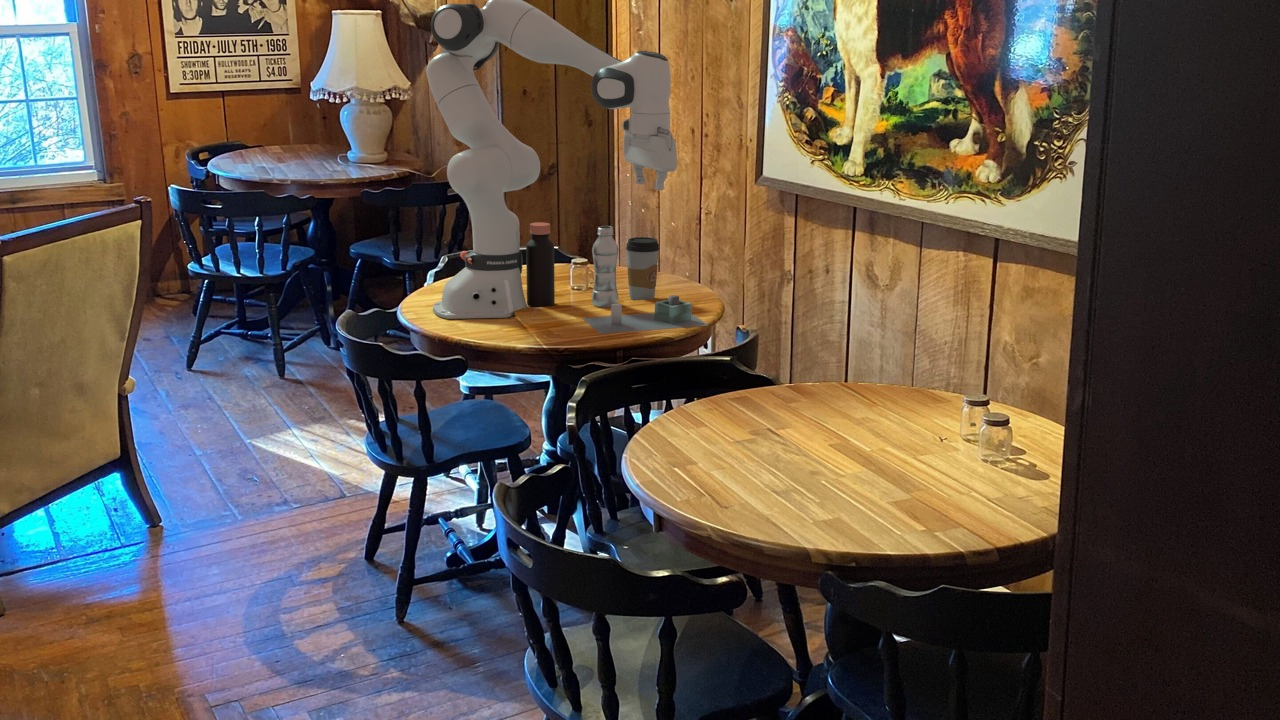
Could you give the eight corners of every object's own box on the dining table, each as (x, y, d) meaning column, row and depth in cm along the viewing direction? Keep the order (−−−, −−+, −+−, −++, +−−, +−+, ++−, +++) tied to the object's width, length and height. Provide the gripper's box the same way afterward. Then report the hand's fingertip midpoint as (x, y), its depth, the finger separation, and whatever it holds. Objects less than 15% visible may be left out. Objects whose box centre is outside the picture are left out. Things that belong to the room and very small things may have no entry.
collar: (672, 324, 270) (672, 307, 269) (654, 319, 274) (654, 302, 273) (691, 320, 274) (691, 303, 273) (673, 314, 278) (674, 298, 277)
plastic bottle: (619, 305, 290) (620, 225, 284) (616, 312, 283) (617, 230, 278) (593, 304, 290) (594, 224, 285) (589, 311, 284) (590, 229, 278)
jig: (600, 338, 262) (600, 309, 260) (582, 322, 274) (582, 295, 272) (708, 329, 270) (709, 301, 268) (686, 314, 282) (687, 288, 281)
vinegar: (548, 309, 286) (547, 227, 280) (522, 306, 288) (521, 225, 282) (558, 302, 292) (558, 222, 286) (533, 300, 294) (532, 220, 288)
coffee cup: (645, 304, 292) (646, 244, 287) (618, 299, 296) (619, 240, 292) (665, 298, 298) (666, 239, 294) (638, 293, 303) (639, 235, 298)
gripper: (684, 129, 259) (683, 192, 263) (643, 121, 276) (642, 180, 280) (659, 130, 256) (658, 194, 260) (618, 121, 273) (618, 181, 277)
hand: (649, 186), depth 270 cm, fingers open, 8 cm apart
